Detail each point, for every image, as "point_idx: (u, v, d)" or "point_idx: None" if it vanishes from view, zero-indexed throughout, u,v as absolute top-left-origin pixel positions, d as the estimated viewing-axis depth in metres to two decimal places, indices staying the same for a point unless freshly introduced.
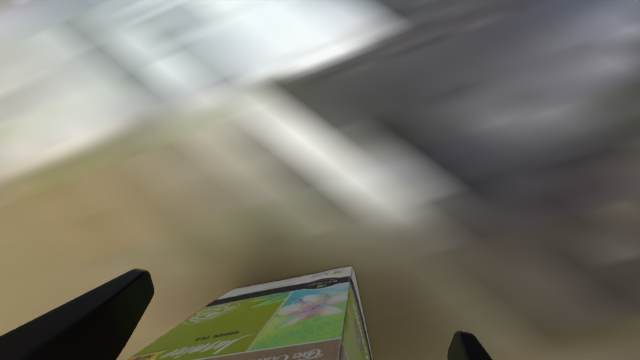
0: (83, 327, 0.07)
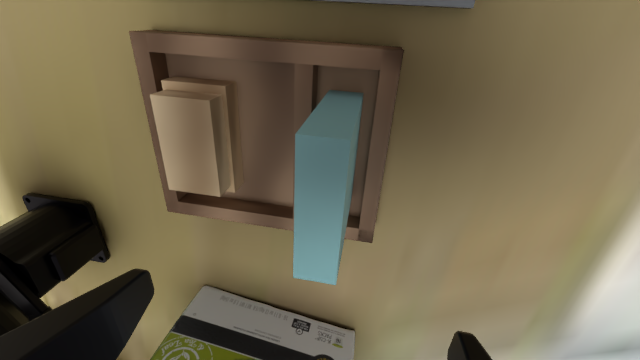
0: (83, 327, 0.07)
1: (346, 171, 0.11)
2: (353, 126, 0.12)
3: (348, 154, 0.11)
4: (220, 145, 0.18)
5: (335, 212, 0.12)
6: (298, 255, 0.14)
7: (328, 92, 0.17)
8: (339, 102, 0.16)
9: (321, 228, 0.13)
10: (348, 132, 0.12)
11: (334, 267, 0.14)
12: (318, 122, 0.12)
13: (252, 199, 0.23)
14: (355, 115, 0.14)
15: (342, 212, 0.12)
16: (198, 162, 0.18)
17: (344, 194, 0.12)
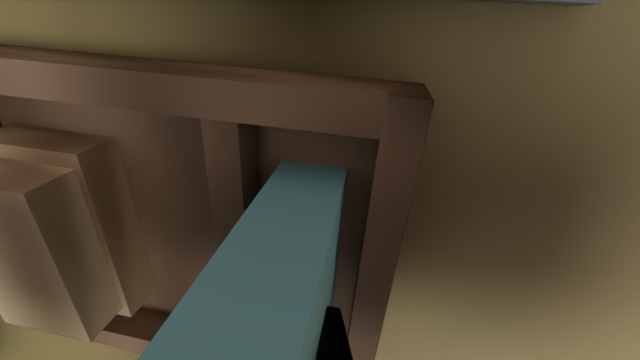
0: None
1: None
2: None
3: None
4: (79, 259, 0.10)
5: None
6: None
7: (277, 169, 0.09)
8: (288, 213, 0.07)
9: None
10: None
11: None
12: None
13: None
14: (311, 291, 0.05)
15: None
16: (38, 290, 0.10)
17: None
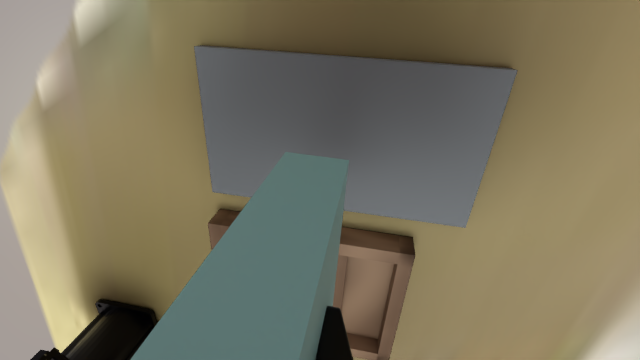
0: None
1: None
2: None
3: None
4: None
5: None
6: None
7: (280, 160, 0.09)
8: (291, 201, 0.07)
9: None
10: None
11: None
12: (189, 338, 0.04)
13: None
14: (315, 272, 0.05)
15: None
16: None
17: None
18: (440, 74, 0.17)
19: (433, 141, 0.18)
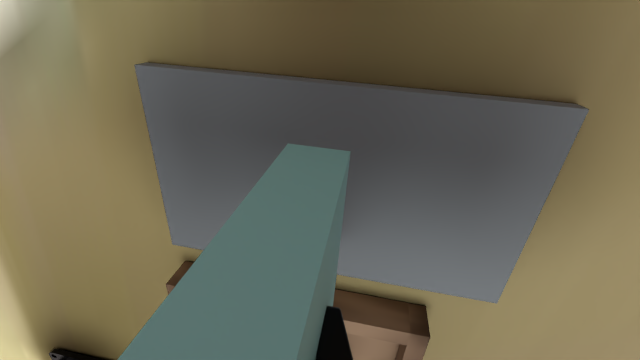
0: None
1: None
2: (299, 336, 0.04)
3: None
4: None
5: None
6: None
7: (283, 151, 0.09)
8: (294, 189, 0.07)
9: None
10: None
11: None
12: (197, 312, 0.04)
13: None
14: (318, 253, 0.05)
15: None
16: None
17: None
18: (475, 111, 0.12)
19: (460, 198, 0.14)
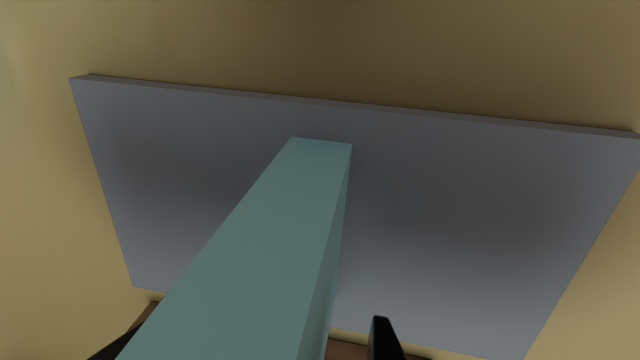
0: None
1: None
2: (306, 306, 0.04)
3: None
4: None
5: None
6: None
7: (287, 144, 0.10)
8: (298, 178, 0.08)
9: None
10: None
11: None
12: (212, 285, 0.05)
13: None
14: (323, 235, 0.06)
15: None
16: None
17: None
18: (501, 141, 0.09)
19: (478, 245, 0.11)
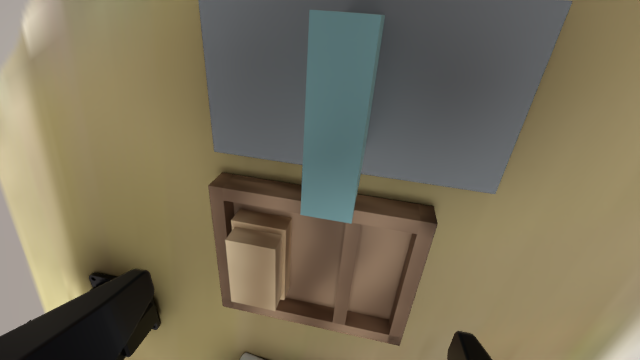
0: (83, 327, 0.07)
1: (373, 62, 0.09)
2: (381, 15, 0.10)
3: (376, 37, 0.09)
4: (278, 273, 0.22)
5: (356, 124, 0.10)
6: (307, 184, 0.11)
7: None
8: None
9: (337, 146, 0.10)
10: None
11: (351, 201, 0.11)
12: None
13: (296, 298, 0.26)
14: None
15: (364, 123, 0.10)
16: (259, 287, 0.22)
17: (368, 97, 0.10)
18: (480, 7, 0.14)
19: (465, 90, 0.16)
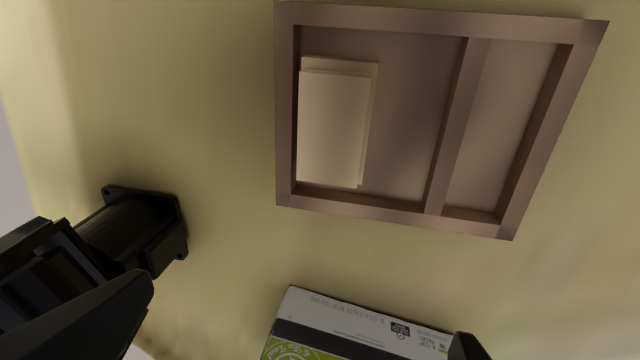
0: (83, 327, 0.07)
1: None
2: None
3: None
4: (364, 130, 0.17)
5: None
6: None
7: None
8: None
9: None
10: None
11: None
12: None
13: (369, 192, 0.21)
14: None
15: None
16: (339, 149, 0.17)
17: None
18: None
19: None
